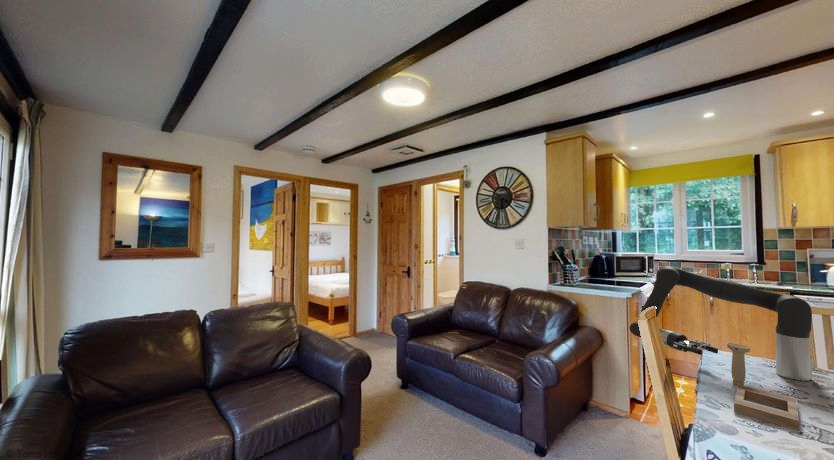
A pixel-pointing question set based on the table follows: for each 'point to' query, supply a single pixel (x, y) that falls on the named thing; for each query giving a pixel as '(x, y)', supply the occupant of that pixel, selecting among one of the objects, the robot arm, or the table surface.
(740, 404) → the wooden rectangular frame
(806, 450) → the table surface
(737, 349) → the handle
